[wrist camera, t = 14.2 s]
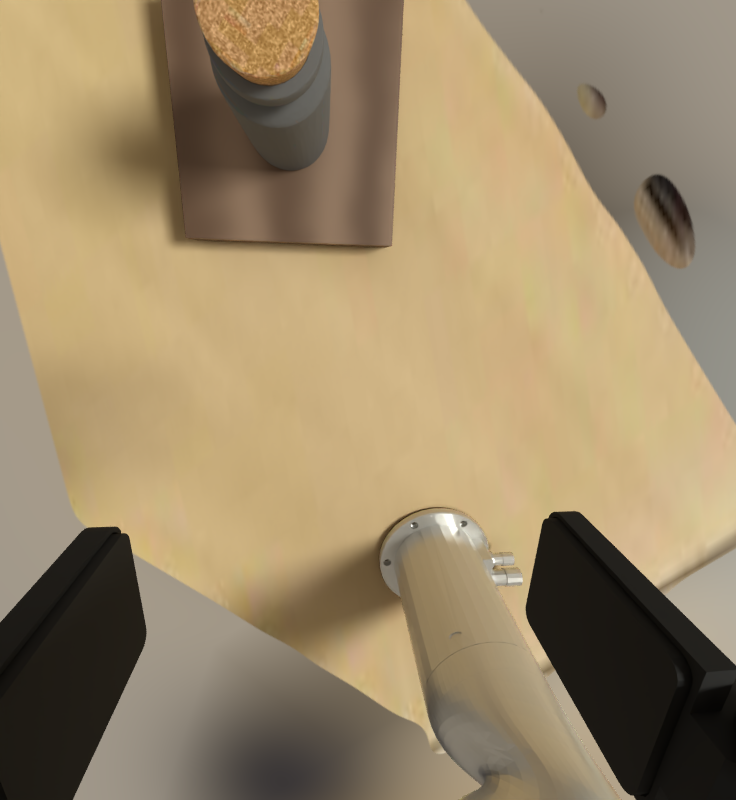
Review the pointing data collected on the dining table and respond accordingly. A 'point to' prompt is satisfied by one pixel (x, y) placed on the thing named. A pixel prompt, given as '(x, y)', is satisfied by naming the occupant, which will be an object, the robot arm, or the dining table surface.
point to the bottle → (272, 73)
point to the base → (309, 187)
